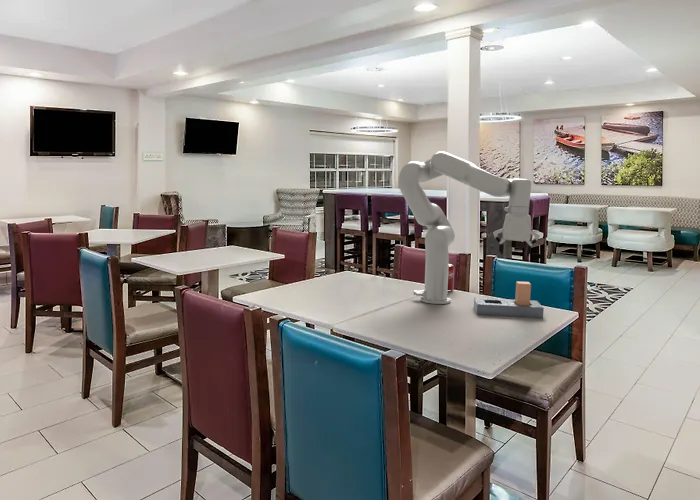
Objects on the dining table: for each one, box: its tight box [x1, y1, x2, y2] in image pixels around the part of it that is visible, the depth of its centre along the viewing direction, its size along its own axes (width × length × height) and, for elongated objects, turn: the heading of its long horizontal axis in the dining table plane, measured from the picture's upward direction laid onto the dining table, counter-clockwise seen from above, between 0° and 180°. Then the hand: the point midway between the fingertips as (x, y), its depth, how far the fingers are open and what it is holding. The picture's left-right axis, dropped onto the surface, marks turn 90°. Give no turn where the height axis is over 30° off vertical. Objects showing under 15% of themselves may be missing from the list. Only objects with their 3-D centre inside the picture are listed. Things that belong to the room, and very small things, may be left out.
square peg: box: [514, 281, 532, 305], centre depth 194 cm, size 5×5×12 cm
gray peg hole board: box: [473, 297, 545, 319], centre depth 195 cm, size 24×12×4 cm, turn 82°
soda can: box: [448, 263, 455, 291], centre depth 236 cm, size 7×7×12 cm
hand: (514, 254), depth 198 cm, fingers open, 9 cm apart
